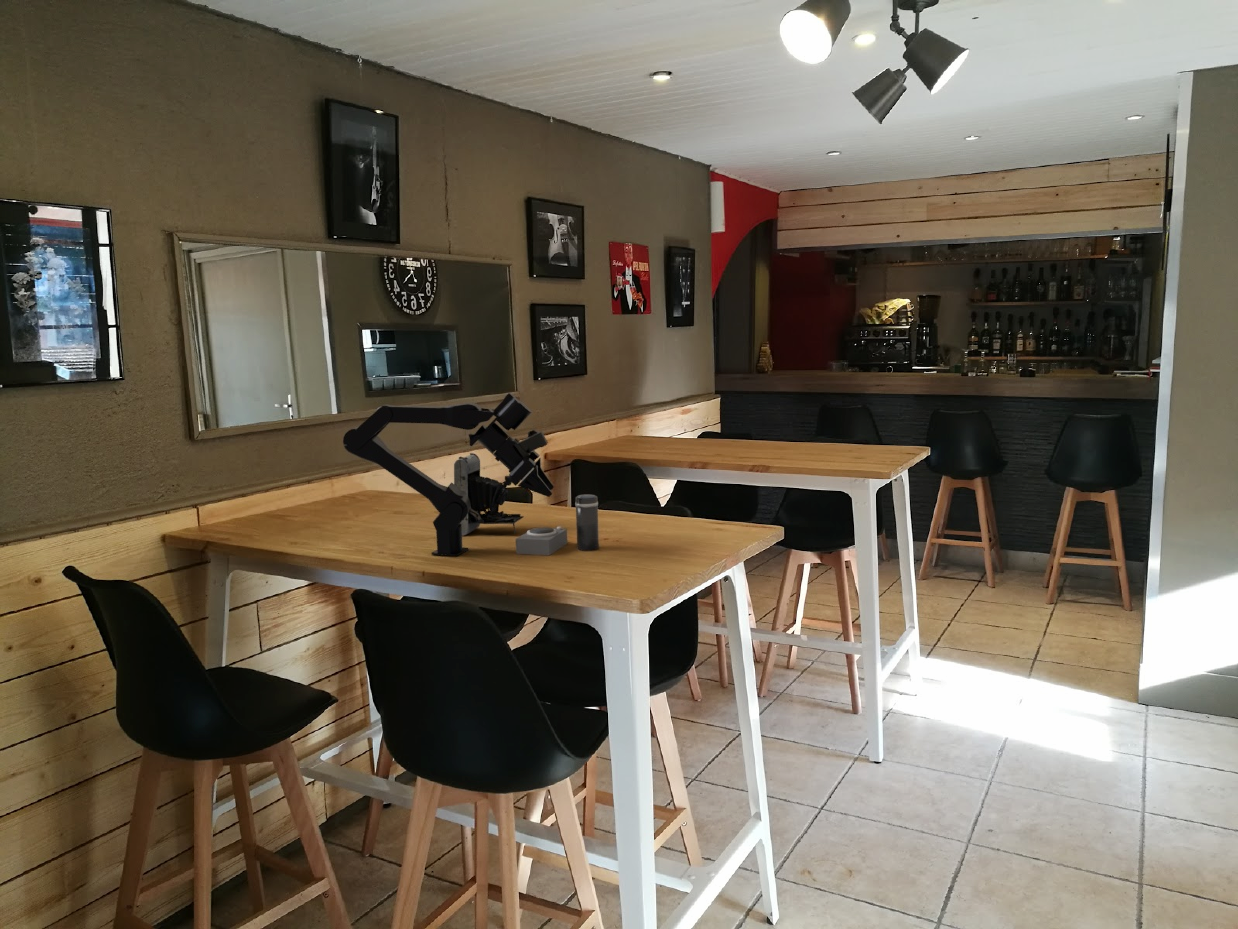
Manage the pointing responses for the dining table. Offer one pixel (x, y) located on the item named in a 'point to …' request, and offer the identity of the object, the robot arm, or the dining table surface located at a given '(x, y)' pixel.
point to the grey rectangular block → (541, 541)
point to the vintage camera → (481, 495)
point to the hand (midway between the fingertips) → (551, 491)
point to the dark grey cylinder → (587, 522)
